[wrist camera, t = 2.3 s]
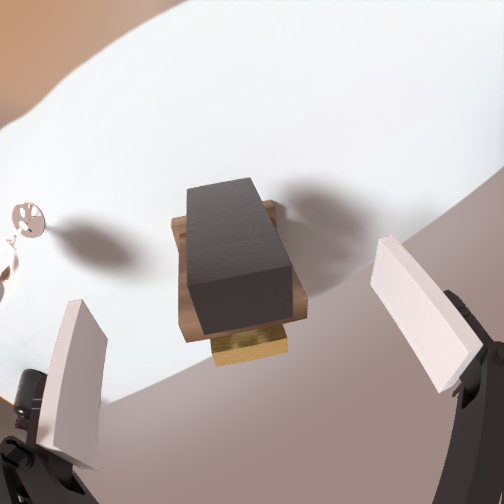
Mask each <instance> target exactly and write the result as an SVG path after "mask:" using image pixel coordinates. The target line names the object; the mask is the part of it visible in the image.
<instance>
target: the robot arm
mask: <svg viewBox="0 0 504 504" xmlns="http://www.w3.org/2000/svg"><path fill="white" fill-rule="evenodd" d="M370 285H371V286H372V288H373V289H374V291H375V292H376V293H377V295H378V296H379V298H380V299H381V301H382V302H383V304H384V305H385V307H386V308H387V310H388V311H389V313H390V314H391V316H392V317H393V319H394V320H395V322H396V323H397V325H398V327H399V328H400V329H401V331H402V333H403V334H404V336H405V337H406V339H407V341H408V342H409V344H410V345H411V347H412V349H413V350H414V352H415V353H416V355H417V357H418V358H419V360H420V362H421V363H422V365H423V367H424V368H425V370H426V372H427V373H428V375H429V377H430V378H431V380H432V382H433V384H434V385H435V387H436V389H437V391H438V392H439V393H440V392H442V391H444V390H446V389H447V388H449V387H451V386H452V385H454V383H455V382H456V381H457V380H458V378H460V380H461V382H462V383H461V384H460V385H459V386H458V387H457V389H456V390H455V391H454V392H453V395H452V397H455V395H456V394H457V393H458V392H459V395H458V397H457V398H458V402H457V408H456V415H455V420H454V425H453V430H452V435H451V440H450V445H449V449H448V453H447V457H446V461H445V465H444V468H443V472H442V475H441V479H440V482H439V485H438V488H437V491H436V494H435V497H434V500H433V503H432V504H499V500H500V496H501V492H502V500H501V504H504V343H503V342H499V341H495V342H494V341H493V340H492V339H491V338H490V336H489V335H488V334H487V332H486V331H485V330H484V328H483V327H482V326H481V324H480V323H479V322H478V320H477V319H476V318H475V317H474V315H473V314H471V312H470V310H469V309H468V308H467V307H465V304H464V303H463V302H462V300H461V299H460V298H459V297H458V296H457V295H455V294H454V293H452V292H451V291H449V290H446V291H444V292H442V291H441V289H440V288H439V287H438V286H437V285H436V283H435V282H434V281H433V280H432V279H431V278H430V276H429V275H428V274H427V273H426V272H425V271H424V269H423V268H422V267H421V266H420V265H419V264H418V263H417V262H416V261H415V259H414V258H413V257H412V256H411V255H410V254H409V253H408V252H407V251H406V250H405V249H404V247H403V246H402V245H401V244H400V243H399V242H398V241H397V240H396V239H395V238H394V237H393V236H387V237H383V238H378V244H377V250H376V256H375V262H374V267H373V273H372V278H371V283H370ZM107 341H108V339H107V337H106V336H105V334H104V333H103V331H102V330H101V328H100V327H99V325H98V324H97V322H96V321H95V319H94V317H93V316H92V314H91V313H90V311H89V309H88V308H87V306H86V304H85V303H84V301H83V299H79V300H74V301H68V304H67V307H66V310H65V313H64V316H63V320H62V323H61V326H60V329H59V333H58V336H57V340H56V344H55V347H54V351H53V355H52V359H51V363H50V367H49V371H48V376H43V377H41V378H40V380H39V382H38V384H37V386H36V388H35V392H34V397H33V399H34V401H33V402H32V410H31V413H30V419H29V425H28V432H27V439H26V444H25V443H24V442H22V441H21V440H19V439H17V438H16V437H14V436H8V437H6V438H4V440H3V441H2V442H1V444H0V504H99V503H98V502H97V501H96V499H95V498H94V497H93V496H92V494H91V493H90V492H89V490H88V489H87V488H86V486H85V485H84V484H83V482H82V481H81V479H80V478H79V476H78V475H77V474H76V473H75V472H74V471H73V470H72V466H73V465H75V466H77V467H79V468H81V469H92V470H97V445H98V424H99V409H100V397H101V387H102V378H103V369H104V362H105V354H106V347H107ZM17 495H18V496H20V497H21V502H19V499H18V496H17Z"/></svg>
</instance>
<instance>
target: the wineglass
mask: <svg viewBox="0 0 504 504" xmlns="http://www.w3.org/2000/svg"><path fill="white" fill-rule="evenodd" d="M12 221H13V224H14V226H15V228H16V229H17V231H16V233H15V234H14V235H13V236H11V237H10V238H8V239H6V238H4V237H2V236H0V309H1V308H2V306H3V305H4V304H5V303H6V302H7V301H8V299H9V298H10V297H11V295H12V294H13V292H14V290H15V289H16V287H17V285H18V282H19V279H20V275H21V262H20V257H19V255H18V252H17V250H16V249H15V247H14V245H15V241H16V239H17V237H18V235H19V234H22V235H23V236H25V237H28V238H35V237H38V236H39V235H40V234H41V233H42V232H43V229H44V218H43V215H42V213H41V211H40V210H39V209H38V208H37V207H36V206H35V205H34V204H32V203H30V202H20V203H18V204H17V205H16V206H15V207H14V209H13V212H12Z"/></svg>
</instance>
